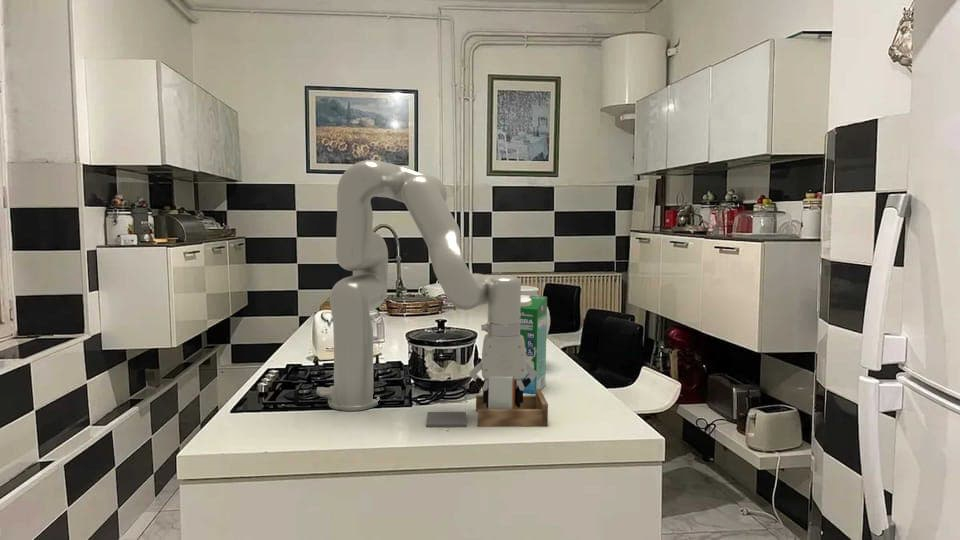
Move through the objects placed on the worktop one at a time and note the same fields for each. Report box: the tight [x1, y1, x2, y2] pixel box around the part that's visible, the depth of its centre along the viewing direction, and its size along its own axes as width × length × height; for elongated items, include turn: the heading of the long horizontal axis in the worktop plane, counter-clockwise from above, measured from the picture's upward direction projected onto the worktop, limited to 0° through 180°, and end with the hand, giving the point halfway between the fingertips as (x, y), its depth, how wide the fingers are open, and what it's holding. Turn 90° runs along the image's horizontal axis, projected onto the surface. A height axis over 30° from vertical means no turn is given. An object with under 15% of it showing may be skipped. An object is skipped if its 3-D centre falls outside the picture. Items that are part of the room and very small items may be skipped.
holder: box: [475, 389, 549, 427], centre depth 150 cm, size 16×12×5 cm
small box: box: [488, 376, 517, 409], centre depth 149 cm, size 8×6×10 cm
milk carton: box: [517, 295, 548, 395], centre depth 174 cm, size 9×9×25 cm
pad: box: [425, 411, 468, 428], centre depth 147 cm, size 9×9×1 cm
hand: (502, 405), depth 150 cm, fingers closed on small box, 6 cm apart
